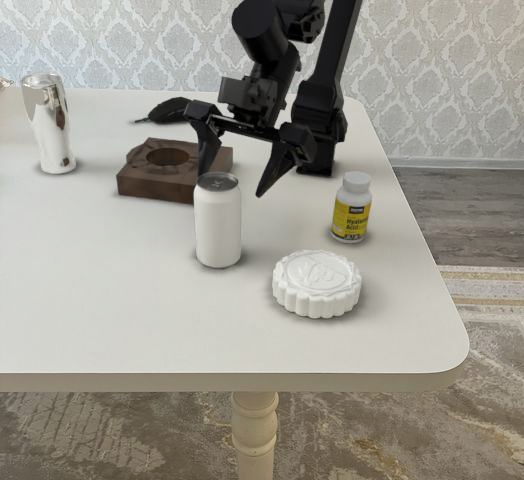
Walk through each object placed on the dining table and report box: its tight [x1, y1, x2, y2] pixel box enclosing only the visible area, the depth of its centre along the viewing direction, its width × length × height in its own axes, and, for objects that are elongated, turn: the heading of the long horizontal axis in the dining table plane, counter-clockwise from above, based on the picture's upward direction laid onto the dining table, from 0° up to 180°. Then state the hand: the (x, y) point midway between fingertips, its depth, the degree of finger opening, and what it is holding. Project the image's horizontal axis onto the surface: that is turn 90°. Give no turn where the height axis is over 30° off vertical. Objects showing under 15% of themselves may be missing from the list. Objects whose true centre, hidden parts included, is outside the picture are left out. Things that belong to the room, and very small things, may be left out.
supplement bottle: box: [330, 170, 373, 244], centre depth 89 cm, size 5×5×10 cm
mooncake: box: [271, 249, 363, 319], centre depth 80 cm, size 12×12×4 cm
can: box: [193, 172, 242, 269], centre depth 83 cm, size 6×6×12 cm
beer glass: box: [19, 72, 77, 175], centre depth 101 cm, size 7×7×15 cm
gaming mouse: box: [134, 96, 193, 125], centre depth 123 cm, size 6×15×4 cm, turn 113°
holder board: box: [115, 136, 234, 206], centre depth 103 cm, size 17×16×4 cm
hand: (228, 188), depth 82 cm, fingers open, 9 cm apart
